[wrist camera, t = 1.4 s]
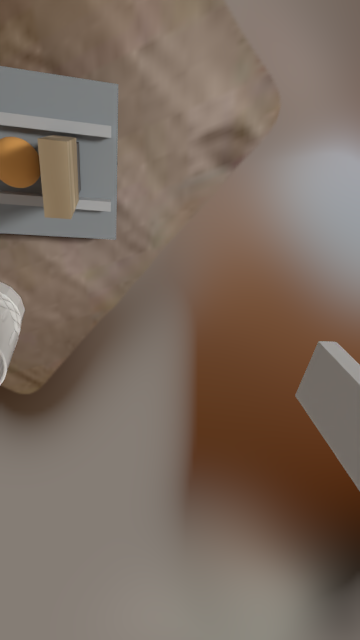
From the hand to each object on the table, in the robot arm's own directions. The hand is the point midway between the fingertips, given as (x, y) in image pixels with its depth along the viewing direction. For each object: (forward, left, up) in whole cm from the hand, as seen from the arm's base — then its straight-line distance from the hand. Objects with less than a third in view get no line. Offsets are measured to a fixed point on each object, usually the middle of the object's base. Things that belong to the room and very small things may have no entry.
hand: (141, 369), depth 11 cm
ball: (-4, -8, -20) cm, 22 cm away
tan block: (-4, -5, -22) cm, 22 cm away
